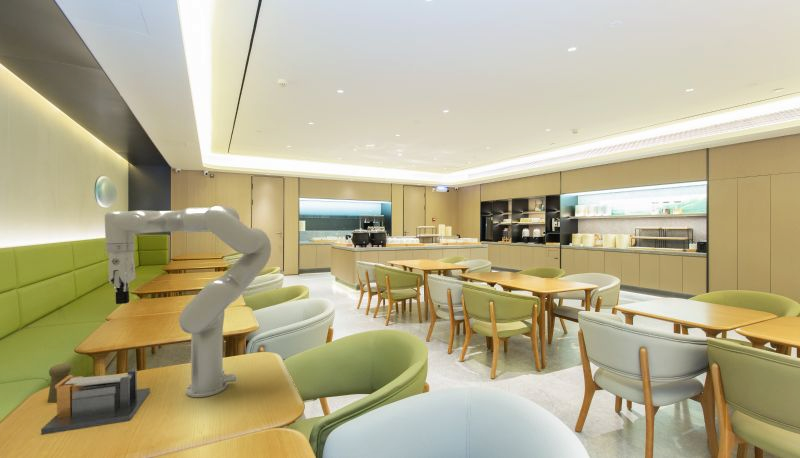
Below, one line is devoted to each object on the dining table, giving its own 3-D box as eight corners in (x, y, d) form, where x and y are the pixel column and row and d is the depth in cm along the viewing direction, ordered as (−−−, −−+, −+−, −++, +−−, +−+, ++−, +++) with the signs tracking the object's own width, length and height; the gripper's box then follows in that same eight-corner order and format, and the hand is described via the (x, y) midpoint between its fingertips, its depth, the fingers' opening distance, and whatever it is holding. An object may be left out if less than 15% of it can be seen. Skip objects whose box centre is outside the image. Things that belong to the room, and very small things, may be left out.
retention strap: (133, 376, 112) (133, 372, 112) (128, 381, 108) (128, 378, 108) (71, 381, 106) (71, 377, 106) (64, 387, 103) (64, 383, 103)
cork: (57, 403, 112) (56, 369, 111) (42, 401, 113) (41, 367, 112) (78, 394, 117) (77, 362, 117) (63, 392, 119) (63, 360, 118)
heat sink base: (149, 392, 119) (149, 360, 119) (129, 420, 102) (129, 383, 102) (75, 402, 112) (75, 368, 112) (41, 434, 96) (40, 394, 95)
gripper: (127, 249, 112) (129, 306, 112) (140, 246, 125) (142, 297, 126) (97, 250, 109) (99, 309, 109) (114, 247, 122) (116, 299, 123)
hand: (122, 303), depth 117 cm, fingers closed
